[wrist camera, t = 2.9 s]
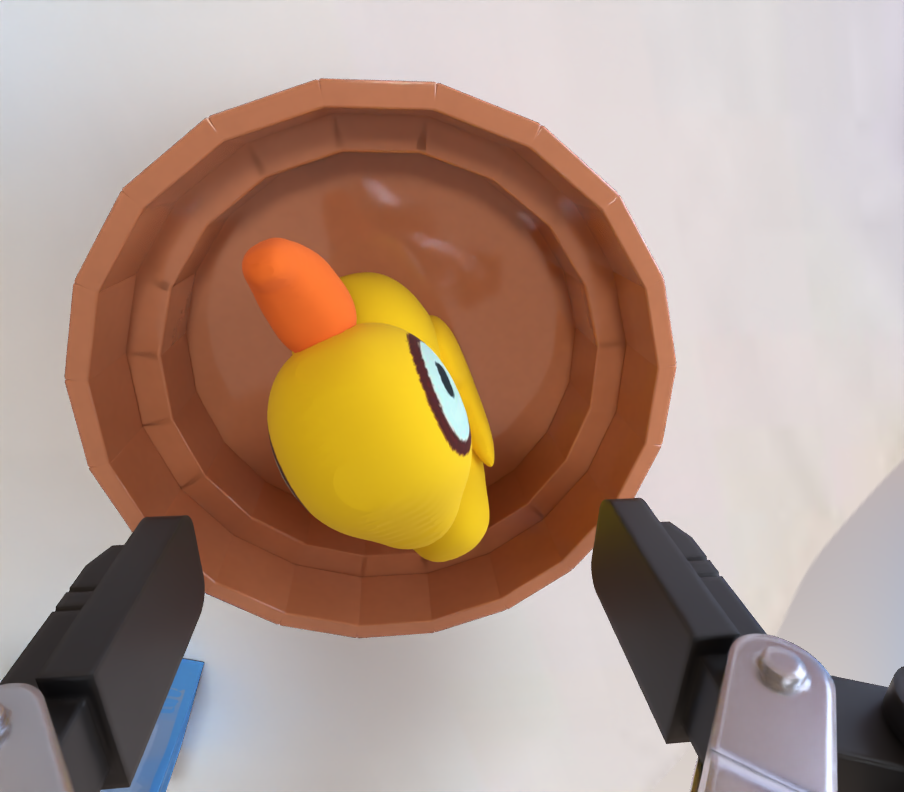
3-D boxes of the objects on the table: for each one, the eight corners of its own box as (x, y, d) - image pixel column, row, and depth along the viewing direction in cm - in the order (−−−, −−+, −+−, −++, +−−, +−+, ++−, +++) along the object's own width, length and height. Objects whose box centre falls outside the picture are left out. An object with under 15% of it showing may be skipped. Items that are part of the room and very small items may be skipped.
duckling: (236, 241, 19) (96, 325, 10) (381, 171, 18) (378, 191, 9) (386, 496, 23) (387, 718, 14) (505, 445, 23) (584, 638, 14)
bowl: (190, 549, 24) (139, 654, 19) (96, 91, 17) (-25, 67, 12) (582, 528, 26) (630, 619, 21) (638, 106, 19) (728, 89, 14)
